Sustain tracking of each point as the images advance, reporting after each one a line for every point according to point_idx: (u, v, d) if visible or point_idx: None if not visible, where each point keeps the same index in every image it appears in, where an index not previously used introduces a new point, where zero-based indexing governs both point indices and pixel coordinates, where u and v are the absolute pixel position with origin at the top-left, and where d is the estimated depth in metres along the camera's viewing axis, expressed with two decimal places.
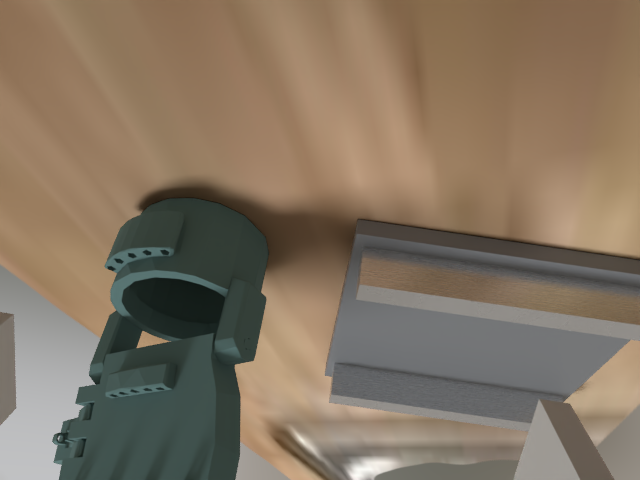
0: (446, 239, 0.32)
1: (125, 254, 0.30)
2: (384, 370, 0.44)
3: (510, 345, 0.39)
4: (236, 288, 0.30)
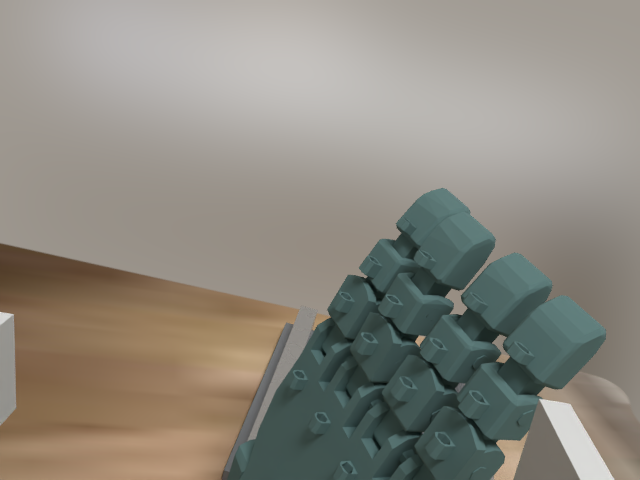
0: None
1: None
2: None
3: None
4: None
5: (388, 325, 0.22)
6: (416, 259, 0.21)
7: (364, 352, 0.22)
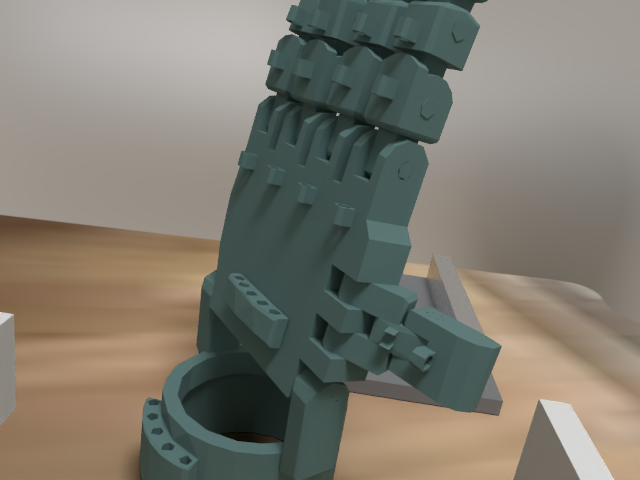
0: None
1: (154, 437, 0.23)
2: None
3: None
4: (200, 345, 0.28)
5: (320, 41, 0.22)
6: None
7: (302, 73, 0.22)
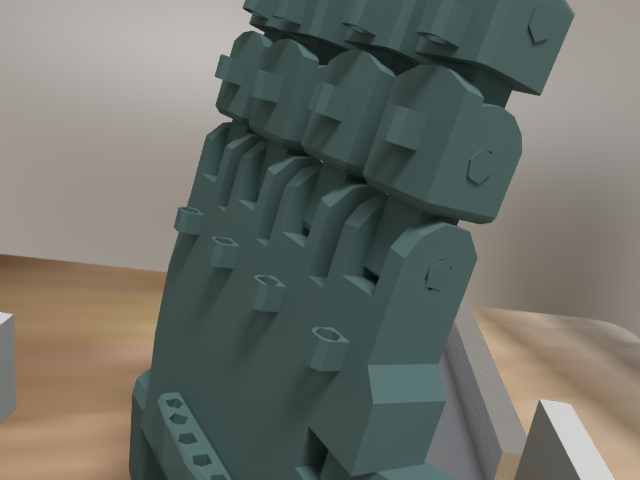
0: None
1: None
2: (474, 443, 0.31)
3: None
4: (133, 472, 0.20)
5: (293, 41, 0.14)
6: None
7: (263, 94, 0.14)
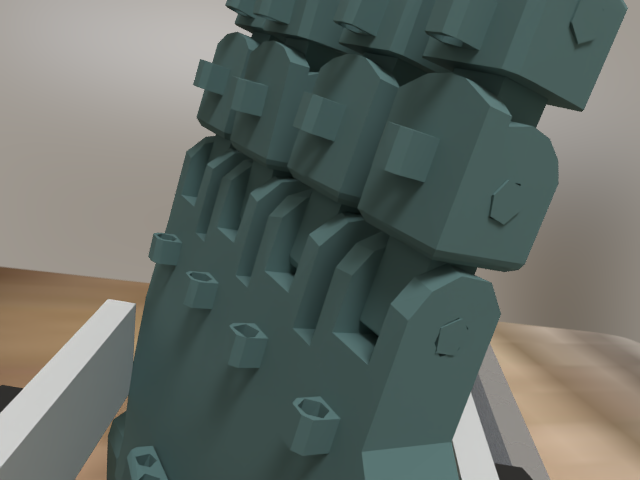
0: None
1: None
2: None
3: None
4: None
5: (279, 44, 0.11)
6: None
7: (244, 106, 0.11)
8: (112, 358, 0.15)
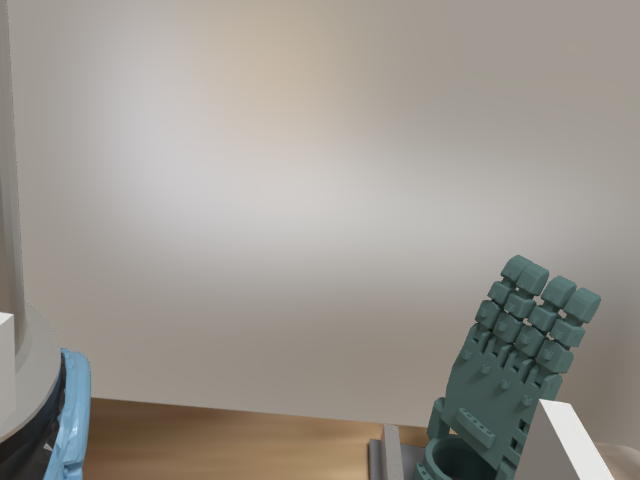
0: None
1: None
2: None
3: None
4: (430, 434, 0.58)
5: (510, 316, 0.51)
6: (518, 285, 0.50)
7: (502, 329, 0.51)
8: None
